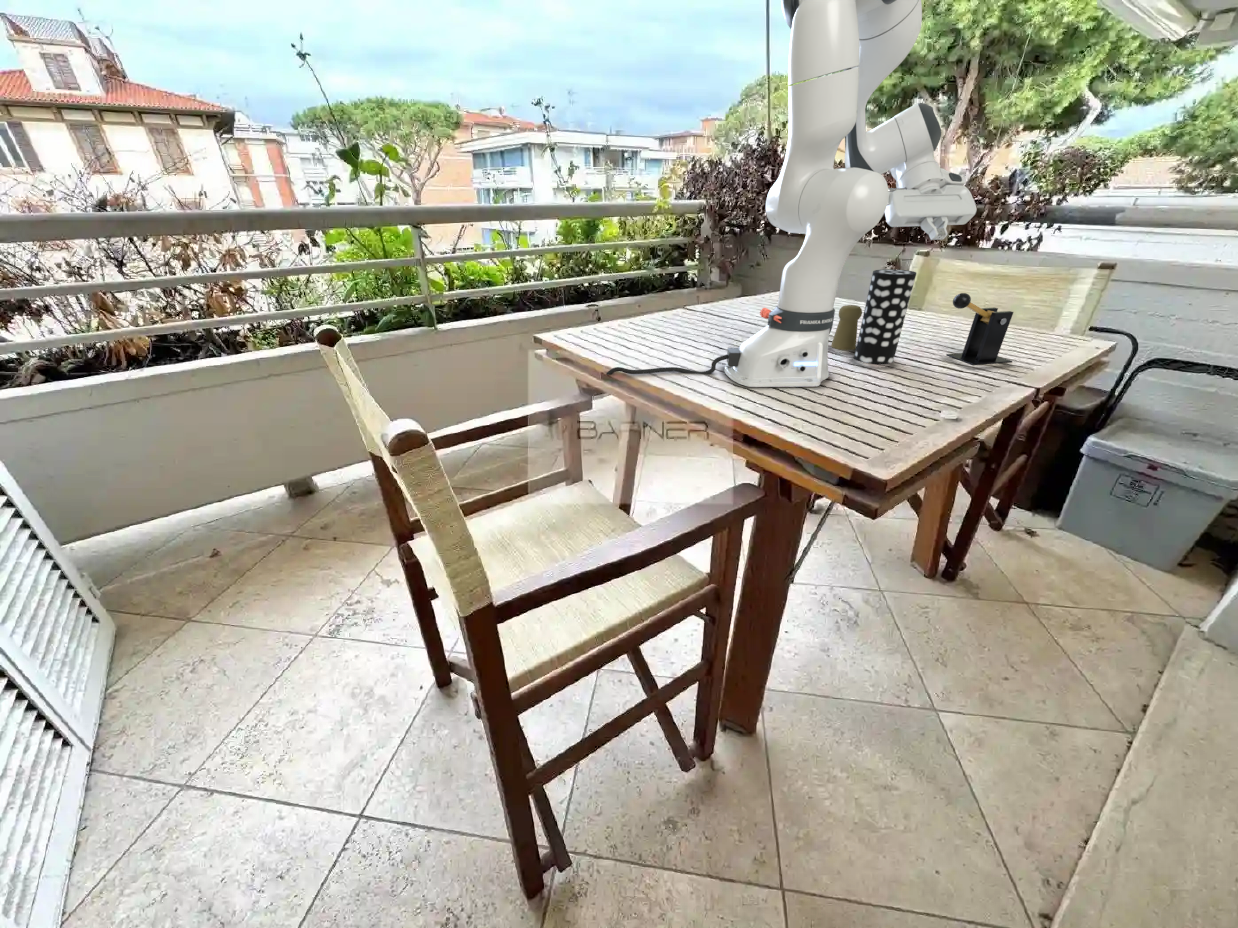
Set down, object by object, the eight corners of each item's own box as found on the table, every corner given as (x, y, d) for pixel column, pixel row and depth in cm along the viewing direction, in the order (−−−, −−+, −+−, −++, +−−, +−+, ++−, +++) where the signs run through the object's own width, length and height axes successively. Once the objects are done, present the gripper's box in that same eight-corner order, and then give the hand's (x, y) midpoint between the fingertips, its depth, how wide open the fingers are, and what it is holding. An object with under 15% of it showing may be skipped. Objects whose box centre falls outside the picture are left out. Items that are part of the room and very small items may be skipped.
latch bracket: (971, 369, 108) (989, 315, 102) (944, 359, 115) (960, 307, 109) (1010, 366, 109) (1031, 312, 103) (982, 356, 116) (1000, 305, 110)
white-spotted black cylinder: (884, 357, 116) (906, 269, 107) (898, 368, 109) (923, 274, 99) (848, 357, 117) (867, 269, 108) (860, 368, 110) (881, 275, 100)
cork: (860, 352, 120) (870, 307, 115) (838, 354, 120) (847, 308, 114) (846, 346, 126) (855, 302, 120) (825, 348, 125) (833, 304, 119)
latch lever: (957, 306, 102) (967, 292, 101) (946, 303, 105) (956, 289, 104) (997, 329, 107) (1007, 315, 105) (985, 326, 109) (995, 312, 108)
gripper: (888, 177, 107) (906, 228, 103) (970, 176, 110) (991, 225, 106) (871, 200, 113) (888, 249, 109) (950, 198, 116) (968, 246, 112)
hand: (939, 237), depth 108 cm, fingers closed
